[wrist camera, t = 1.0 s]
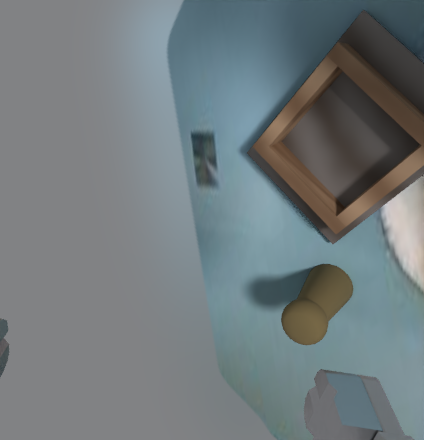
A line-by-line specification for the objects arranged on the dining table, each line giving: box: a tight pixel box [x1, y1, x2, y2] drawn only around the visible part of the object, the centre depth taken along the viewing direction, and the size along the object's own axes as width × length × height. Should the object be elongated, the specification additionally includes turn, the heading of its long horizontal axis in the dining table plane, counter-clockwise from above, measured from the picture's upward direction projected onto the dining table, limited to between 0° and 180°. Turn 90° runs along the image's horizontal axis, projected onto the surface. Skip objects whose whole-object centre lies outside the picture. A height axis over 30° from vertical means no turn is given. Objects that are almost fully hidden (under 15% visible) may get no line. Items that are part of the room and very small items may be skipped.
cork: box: [281, 264, 353, 345], centre depth 46 cm, size 6×6×11 cm
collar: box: [247, 10, 424, 244], centre depth 41 cm, size 20×16×4 cm
